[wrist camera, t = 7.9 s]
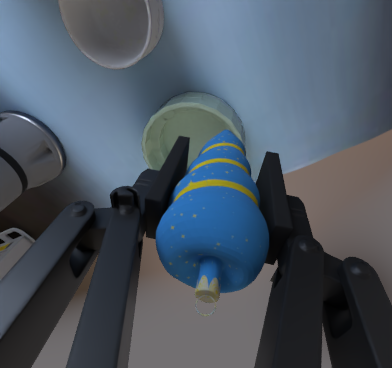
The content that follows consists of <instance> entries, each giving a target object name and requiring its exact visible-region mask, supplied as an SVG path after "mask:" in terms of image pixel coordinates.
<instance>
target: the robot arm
mask: <svg viewBox="0 0 392 368" xmlns="http://www.w3.org/2000/svg"><path fill="white" fill-rule="evenodd" d="M189 143H190V137H185V136H178V138H177V140H176V142H175V144H174V146H173V147H172V149H171V151H170V153H169V155H168V156H167V158H166V160H165V162H164V164H163V165H162V167H161V169H160V171H158V170H153V169H147V170H145V171H144V172H142V173H141V174H140V176H139V177H138V179H137V180H136V182H135V184H134V185H133V187H130V186H122V187H119V188H116V189H115V190H113V191H112V192H111V194H110V199H111V205H112V207H111V208H98V209H94V205H93V204H92V203H90V202H87V201H77V202H74V203H71V204H69V205H68V206H67V207H65V208H64V210H63V211H62V212H61V213H60V214H59V215H58V216H57V217H56V219H55V220H54V221H53V222H52V223H51V224H50V225H49V226H48V228H47V229H46V230H45V231H44V232H43V233H42V234H41V235H40V237H39V238H38V239H37V240H36V241H35V242H34V243H33V244H32V245H31V247H30V248H29V249H28V250H27V251H26V252H25V253H24V254H23V256H22V257H21V258H20V259H19V260H18V261H17V262H16V263H15V265H14V266H13V267H12V268H11V269H10V270H9V271H8V272H7V274H6V275H5V276H4V277H3V278H2V279H1V280H0V368H31V367H32V365H33V363H34V362H35V360H36V358H37V357H38V355H39V353H40V351H41V350H42V348H43V346H44V345H45V343H46V341H47V340H48V338H49V336H50V335H51V333H52V331H53V330H54V328H55V326H56V324H57V323H58V321H59V319H60V318H61V316H62V314H63V313H64V311H65V309H66V308H67V306H68V304H69V302H70V301H71V299H72V297H73V296H74V294H75V292H76V291H77V289H78V287H79V285H80V284H81V282H82V280H83V279H84V277H85V275H86V274H87V272H88V270H89V269H90V267H91V265H92V263H93V261H94V260H95V258H96V257H97V255H98V253H99V255H98V258H97V262H96V265H95V269H94V272H93V276H92V279H91V283H90V286H89V289H88V293H87V297H86V300H85V303H84V307H83V310H82V313H81V317H80V321H79V324H78V327H77V331H76V334H75V338H74V341H73V345H72V348H71V352H70V355H69V359H68V362H67V365H66V368H128V360H129V352H130V343H131V336H132V327H133V319H134V311H135V303H136V295H137V287H138V278H139V271H140V262H141V254H142V246H143V236H144V234H145V232H146V237H148V238H153V239H156V230H157V227H158V225H159V223H160V220H161V218H162V216H163V215H164V213H165V212H166V211H167V206H168V202H169V198H170V195H171V193H172V191H173V190H174V188H175V187H176V185H177V184H178V183H179V181H181V180H182V179H183V178H184V176H185V173H186V171H187V163H188V153H189ZM65 166H66V156H65V152H64V149H63V147H62V145H61V143H60V142H59V140H58V139H57V137H56V136H55V135H54V134H53V132H52V131H51V130H50V129H49V128H48V127H46V126H45V125H44V124H43V123H42V122H40V121H39V120H37V119H36V118H34V117H32V116H30V115H28V114H25V113H22V112H19V111H4V112H2V113H0V211H2V210H3V209H4V208H5V207H6V206H8V205H9V204H10V203H11V202H12V201H14V200H15V199H16V198H17V197H18V196H19V195H21V194H22V193H23V192H24V191H26V190H27V189H29V188H32V187H34V188H35V186H36V187H37V185H38V186H40V185H42V184H44V183H46V182H48V181H50V180H52V179H54V178H56V177H57V176H58V175H59V174H61V173H62V172H63V170H64V168H65ZM256 186H257V188H258V191H259V195H260V206H259V210H260V211H261V213H262V214H263V217H264V219H265V221H266V224H267V227H268V232H269V249H268V253H267V257H266V260H265V263H267V264H271V265H274V263H275V261H276V260H277V261H278V268H277V269H276V271H275V273H274V275H273V276H272V278H271V281H272V282H273V284H272V288H271V293H270V297H269V302H268V307H267V312H266V316H265V321H264V325H263V330H262V335H261V339H260V344H259V348H258V353H257V357H256V362H255V367H254V368H321V353H322V323H323V327H324V332H325V337H326V341H327V346H328V351H329V355H330V360H331V364H332V368H392V305H391V303H390V300H389V298H388V296H387V294H386V292H385V290H384V287H383V285H382V283H381V281H380V279H379V277H378V274H377V273H376V271H375V270H374V269H373V268H372V267H371V266H370V265H369V264H368V263H367V262H365V261H363V260H362V259H359V258H356V257H348V258H346V259H345V260H344V261H342V260H340V259H338V258H335V257H333V256H331V255H329V254H327V253H325V252H324V251H323V248H322V246H321V245H320V243H319V242H318V241H316V240H315V239H314V238H313V235H312V232H311V228H310V224H309V221H308V218H307V214H306V210H305V206H304V204H303V202H302V201H301V200H300V199H299V198H298V197H294V196H289V195H286V189H285V184H284V180H283V174H282V169H281V164H280V159H279V154H278V153H273V152H266V155H265V158H264V161H263V164H262V167H261V170H260V173H259V176H258V179H257V182H256Z"/></svg>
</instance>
